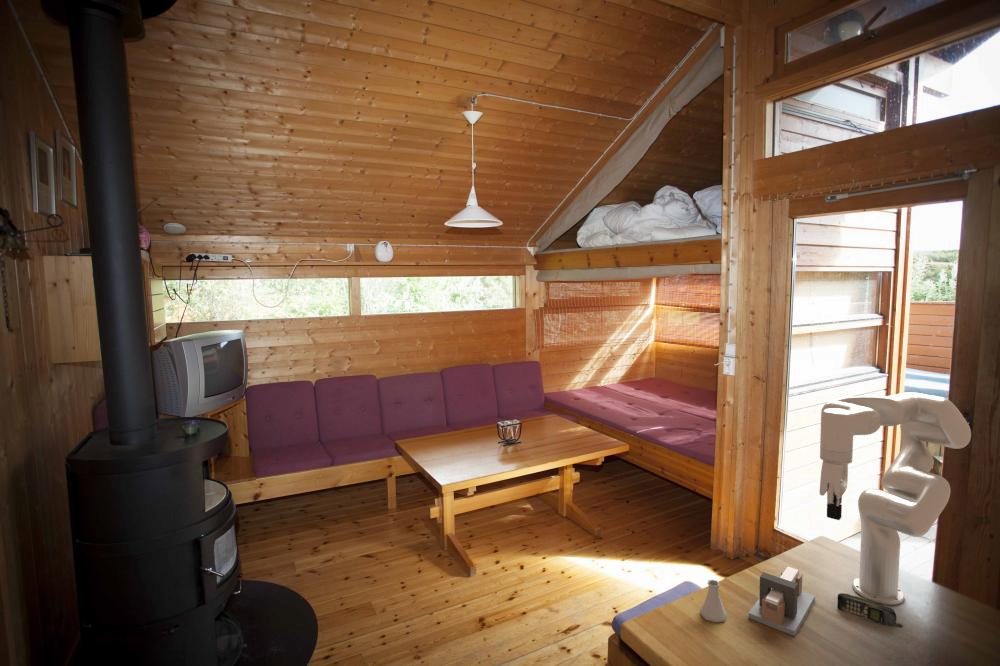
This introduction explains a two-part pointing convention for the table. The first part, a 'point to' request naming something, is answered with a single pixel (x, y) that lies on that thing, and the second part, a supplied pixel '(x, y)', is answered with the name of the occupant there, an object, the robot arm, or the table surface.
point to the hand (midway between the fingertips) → (833, 517)
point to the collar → (784, 586)
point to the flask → (713, 604)
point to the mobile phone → (867, 609)
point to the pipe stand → (783, 606)
